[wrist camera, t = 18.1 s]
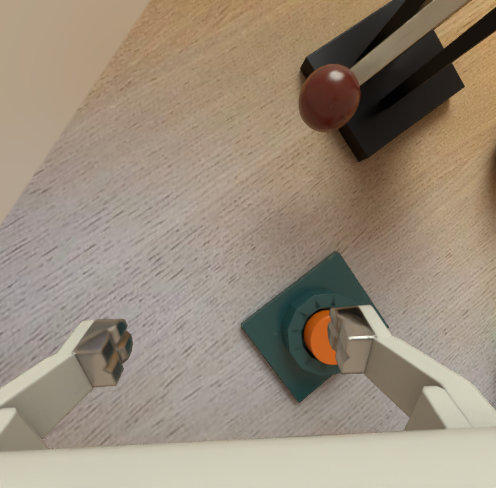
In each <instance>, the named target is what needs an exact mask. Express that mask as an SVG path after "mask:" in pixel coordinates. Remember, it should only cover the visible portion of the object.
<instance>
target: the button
mask: <svg viewBox="0 0 496 488" xmlns="http://www.w3.org/2000/svg"><path fill="white" fill-rule="evenodd" d="M329 313H330V310H322V311H319V312H317V313H315V314H314V315H313V316H311V317H310V319H309V320H308V321H307V323H306V325H305V328H304V341H305V344H306V346H307V347H308V349H309V350H310V351H311V352H312V353H313V355H314V356H315V357H316V358H317V359H318V360H319V361H321V362H323V363H325V364H329V365H336V364H337V361H336V359H335V356H336V351H335V350H333V349H332V348H331V346H330V343H329V339H328V331H327V329H328V323H329V322H330V321H331V318H330V316H329Z"/></svg>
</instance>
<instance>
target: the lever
mask: <svg viewBox="0 0 496 488" xmlns="http://www.w3.org/2000/svg"><path fill="white" fill-rule="evenodd" d="M470 1H472V0H433V1H431V2H430V3H429V4H428V5H427V6H425V7H424V8H423V9H422V10H421V11H419V12H418V13H417V14H416V15H414V16H413V17H412V18H411V19H410V20H408V21H407V22H406V23H405V24H404V25H402V26H401V27H400V28H399V29H398V30H396V31H395V32H394V33H393V34H391V35H390V36H389V37H388V38H387V39H385V40H384V41H383V42H382V43H381V44H379V45H378V46H377V47H376V48H375V49H373V50H372V51H371V52H370V53H368V54H367V55H366V56H365V57H364V58H362V59H361V60H360V61H359V62H358V63H356V64H355V65H354V66H353V67H352V68H350V69H349V68H348V67H346V66H343V65H340V64H328V65H325V66H322V67H320V68H318V69H317V70H315V71H314V72H313V73H312V74H311V75H310V76H309V77H308V78H307V79H306V81H305V83H304V84H303V86H302V88H301V91H300V95H299V111H300V115H301V117H302V119H303V121H304V122H305V123H306V124H307V125H308V126H309V127H310V128H312V129H313V130H316V131H319V132H331V131H334V130H337V129H339V128H341V127H342V126H344V125H345V124H346V123H348V122H349V121H350V119H351V118H352V117H353V116H354V114H355V112H356V110H357V108H358V105H359V102H360V96H361V90H360V87H362V86H363V85H364V84H366V83H367V82H368V81H369V80H371V79H372V78H373V77H375V76H376V75H377V74H378V73H380V72H381V71H382V70H383V69H385V68H386V67H387V66H389V65H390V64H391V63H392V62H394V61H395V60H396V59H398V58H399V57H400V56H401V55H403V54H404V53H405V52H406V51H408V50H409V49H410V48H412V47H413V46H414V45H415V44H417V43H418V42H419V41H421V40H422V39H423V38H424V37H426V36H427V35H428V34H429V33H431V32H432V31H433V30H435V29H436V28H437V27H438V26H440V25H441V24H442V23H444V22H445V21H446V20H447V19H449V18H450V17H451V16H452V15H454V14H455V13H456V12H458V11H459V10H460V9H461V8H463V7H464V6H465V5H467V4H468V3H469V2H470Z"/></svg>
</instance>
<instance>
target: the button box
mask: <svg viewBox="0 0 496 488" xmlns="http://www.w3.org/2000/svg"><path fill="white" fill-rule="evenodd" d="M362 305H371V306H372V307H373V308H374V310H375V311H376V313H377V314H378V316H379V317H380V319H381V320H382V321H383V323H384V324H385V326H386V327H387V329H388V328H389V327H388V325H387V324H386V322H385V321H384V319H383V318H382V316H381V315H380V313H379V312H378V310H377V309H376V307H375V306H374V304H373V303H372V301H371V300H370V298H369V297H368V295H367V294H366V292H365V291H364V289H363V288H362V286H361V285H360V283H359V282H358V280H357V279H356V277H355V276H354V274H353V273H352V271H351V270H350V268H349V267H348V265H347V264H346V262H345V261H344V259H343V258H342V256H341V255H340V253H339V252H337V251H334V252H333V253H332V254H331V255H329V256H328V257H327V258H325V259H324V260H323V261H321V262H320V263H319V264H318V265H316V266H315V267H314V268H312V269H311V270H310V271H309V272H307V273H306V274H305V275H303V276H302V277H301V278H299V279H298V280H297V281H296V282H294V283H293V284H292V285H290V286H289V287H288V288H286V289H285V290H284V291H283V292H281V293H280V294H279V295H277V296H276V297H275V298H273V299H272V300H271V301H270V302H268V303H267V304H266V305H264V306H263V307H262V308H260V309H259V310H258V311H257V312H255V313H254V314H253V315H251V316H250V317H249V318H247V319H246V320H245V321H244V322H242V323H241V326H242V328H243V329H244V331H245V332H246V333H247V335H248V336H249V337H250V339H251V340H252V341H253V343H254V344H255V345H256V347H257V348H258V349H259V351H260V352H261V353H262V355H263V356H264V357H265V359H266V360H267V361H268V363H269V364H270V365H271V367H272V368H273V369H274V371H275V372H276V373H277V375H278V376H279V377H280V379H281V380H282V381H283V383H284V384H285V385H286V386H287V388H288V389H289V390H290V392H291V393H292V394H293V396H294V397H295V398H296V400H297V401H298V402H301V401H302V400H303V399H304V398H305V397H307V396H308V395H309V394H310V393H311V392H313V391H314V390H315V389H316V388H317V387H319V386H320V385H321V384H322V383H323V382H325V381H326V380H327V379H328V378H329V377H331V376H332V375H333V374H337V373H341V372H340V369H339V367H338V364H336V365H329V364H325V363H323V362H321V361H319V360H318V359H317V358H316V357H315V356H314V355H313V353H312V352H311V351H310V350H309V349H308V347H307V346H306V344H305V341H304V328H305V325H306V323H307V321H308V320H309V319H310V317H311V316H313V315H314V314H315V313H317V312H319V311H322V310H330V309H331V308H332V307H348V306H362Z"/></svg>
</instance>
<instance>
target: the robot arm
mask: <svg viewBox="0 0 496 488" xmlns="http://www.w3.org/2000/svg"><path fill="white" fill-rule="evenodd" d="M329 316H330V318H331V321H330V322H329V323H328V329H327V331H328V339H329V343H330V346H331V348H332V349H333V350H335V351H336V356H335V359H336V361H337V364H338V367H339V369H340V372H341V374H359V373H365V375H366V376H367V377H368V378H369V379H370V380H371V381H372V382H373V383H374V384H375V385H376V386H377V387H378V388H379V389H380V390H381V391H382V392H383V393H384V394H385V395H386V396H388V397H389V398H390V399H391V400H392V401H393V402H394V403H395V404H396V405H397V406H398V407H399V408H400V409H401V410H402V411H403V412H404V413H405V414H406V415H407V416H408V417H410V418H409V421H408V423H407V425H406V427H405V430H404V431H394V432H374V433H354V434H335V435H315V436H295V437H276V438H256V439H236V440H217V441H198V442H179V443H160V444H140V445H120V446H101V447H81V448H62V449H50V448H49V447H48V446H47V445H46V443H45V442H44V441H43V440H42V439H43V438H44V437H45V436H46V435H47V434H48V433H49V432H50V431H51V430H52V429H53V428H54V427H55V426H56V425H57V424H58V423H59V422H60V421H61V420H62V419H63V418H64V417H65V416H66V415H67V414H68V413H69V412H70V411H71V410H72V409H73V408H74V407H75V406H76V405H77V404H78V403H79V402H80V401H81V400H82V399H83V398H84V397H85V396H86V395H87V394H88V393H89V392H90V391H91V390H92V389H93V387H105V386H116V385H117V383H118V381H119V378H120V376H121V374H122V372H123V370H124V368H123V365H122V364H123V363H124V362H125V361H126V360H128V359H129V357H130V354H131V352H132V346H133V340H132V336H131V334H130V333H129V332H127V331H126V328H127V326H128V325H127V323H126V321H125V320H124V319H97V320H84V321H82V322H80V324H79V325H78V326H77V328H76V329H75V330H74V331H73V333H72V334H71V335H70V337H69V338H68V339H67V340H66V342H65V343H64V344H63V346H62V347H61V348H60V350H59V351H58V352H57V353H56V355H51V356H49V357H48V358H46V359H45V360H43V361H41V362H40V363H38V364H37V365H35V366H34V367H32V368H31V369H29V370H27V371H26V372H24V373H23V374H21V375H20V376H18V377H17V378H15V379H14V380H12V381H10V382H9V383H7V384H6V385H4V386H3V387H1V388H0V488H496V410H495V409H494V408H493V407H492V406H491V405H490V403H489V402H488V401H487V400H486V399H485V397H484V396H483V395H482V394H481V393H480V392H479V390H478V389H477V388H476V387H475V386H474V384H473V383H471V382H470V381H468V380H466V379H465V378H463V377H462V376H460V375H458V374H457V373H455V372H453V371H452V370H450V369H449V368H447V367H445V366H444V365H442V364H440V363H439V362H437V361H435V360H434V359H432V358H431V357H429V356H427V355H426V354H424V353H422V352H421V351H419V350H418V349H416V348H414V347H413V346H411V345H409V344H408V343H406V342H404V341H403V340H401V339H400V338H398V337H393V336H392V335H391V333H390V332H389V330H388V329H387V327H386V326H385V324H384V323H383V321H382V320H381V319H380V317H379V316H378V314H377V313H376V311H375V310H374V308H373V307H372V306H371V305H362V306H348V307H332V308H331V309H330V313H329Z"/></svg>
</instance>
